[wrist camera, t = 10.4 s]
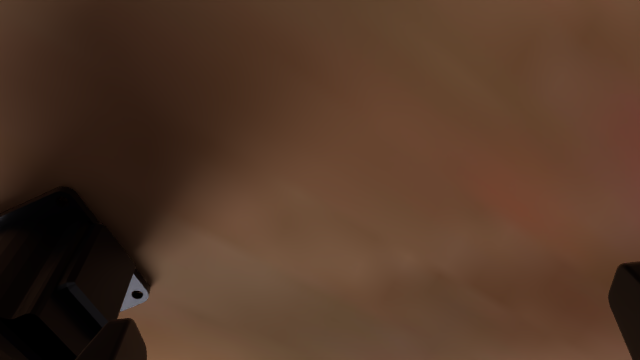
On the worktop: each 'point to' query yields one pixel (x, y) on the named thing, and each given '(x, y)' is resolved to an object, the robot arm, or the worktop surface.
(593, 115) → the worktop surface
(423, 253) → the worktop surface
